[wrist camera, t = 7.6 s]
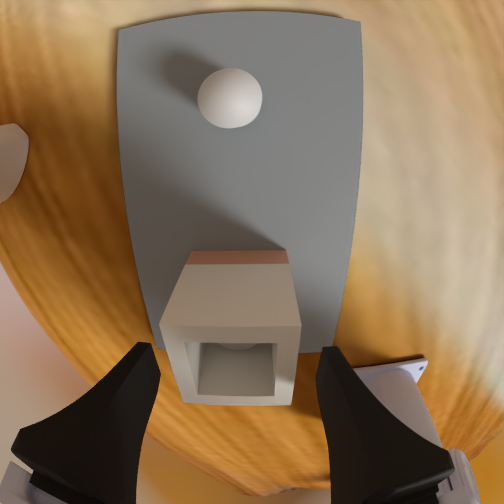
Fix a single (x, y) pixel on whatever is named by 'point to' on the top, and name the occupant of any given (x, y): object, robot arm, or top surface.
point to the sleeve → (234, 328)
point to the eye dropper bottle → (12, 158)
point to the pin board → (243, 150)
